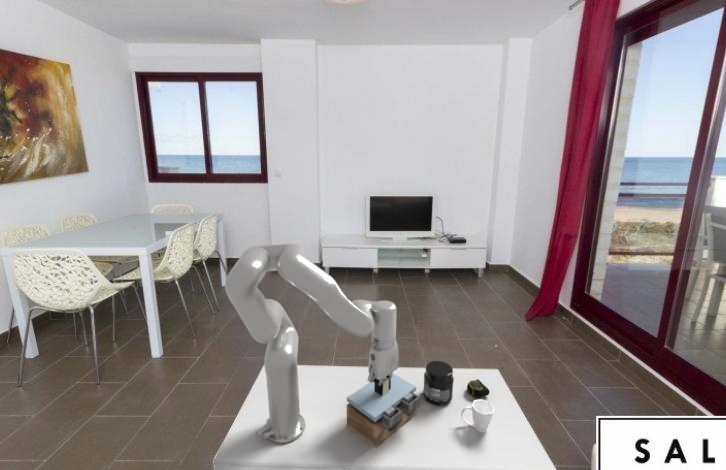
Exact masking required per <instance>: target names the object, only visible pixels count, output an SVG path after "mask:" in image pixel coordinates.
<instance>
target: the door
mask: <svg viewBox="0 0 726 470" xmlns="http://www.w3.org/2000/svg"><path fill="white" fill-rule="evenodd" d="M390 379H391V389H390V390H389V378H387V377H385V378H383V379H382V384H383V395H379V394H378V393H376V392H375V391H374V388H375V382H369V383H367V384H365V385H364V386H363V387H361V388H359V389H357V390H356V391H354V392H353V393H352V394H350V395H348V396H347V397H346V402H347V403H348V404H349V403H350V404H351V405H353V406H354V407H355V408H357V409H358V410H359V411H361V412H362V413H364V414H365V415H366V416H368V417H369V418H370V419H372V420H373V421H374V422H376V421H377V420H378V419H380V418H381V417H382V416H383V414H384V415H386V416H387V417H391V416H392V415H393V414H395V409H394V408H393V407H394V406H397V405H398V404H399V403H401V402H402V400H404V401H405V402H407V403H409V402H410V401H411V400H412V399H413V395H412V394H411V393H414V394H415V392H416V391H417V386H416V385H414V384H413V383H411V382H409V381H407V380H405V379H404V378H402V377H400V376H398V375H397V374H395V373H394V372H393V373H392V378H390Z"/></svg>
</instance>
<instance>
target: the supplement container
mask: <svg viewBox="0 0 726 470" xmlns="http://www.w3.org/2000/svg"><path fill="white" fill-rule="evenodd" d="M453 374H454V370H453V367H452V366H451V364H449V363H447V362H445V361H442V360H441V361H440V360H434V361H432V360H431V361H429V362H428V363H427V364H426V365H425V371H424V374H423V391H422V395H423V398H424V399H425V400H426V401H427V402H428V403H430V404H432V405H434V406H445V405H448V404H450V403H451V401H452V399H453V390H454V381H455V378H454V375H453Z"/></svg>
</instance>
